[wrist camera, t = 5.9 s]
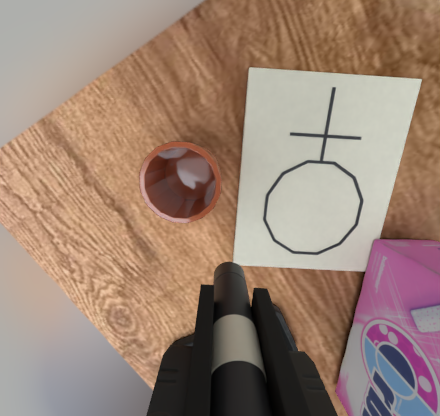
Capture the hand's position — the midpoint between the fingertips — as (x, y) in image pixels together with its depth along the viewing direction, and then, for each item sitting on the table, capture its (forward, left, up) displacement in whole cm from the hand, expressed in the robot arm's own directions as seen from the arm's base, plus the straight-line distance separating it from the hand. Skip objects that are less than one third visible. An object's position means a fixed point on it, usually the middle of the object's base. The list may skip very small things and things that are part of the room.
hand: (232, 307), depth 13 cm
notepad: (-6, +9, -12) cm, 16 cm away
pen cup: (-6, -4, -12) cm, 14 cm away
